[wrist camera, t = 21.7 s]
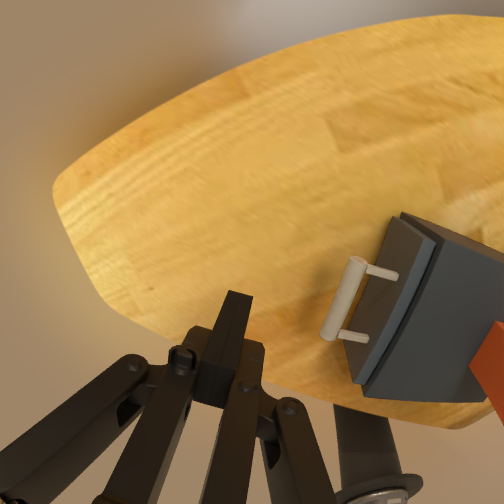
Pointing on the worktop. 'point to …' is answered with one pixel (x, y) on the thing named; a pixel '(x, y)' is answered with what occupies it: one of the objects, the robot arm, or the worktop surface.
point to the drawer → (378, 297)
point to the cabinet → (443, 323)
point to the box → (491, 367)
